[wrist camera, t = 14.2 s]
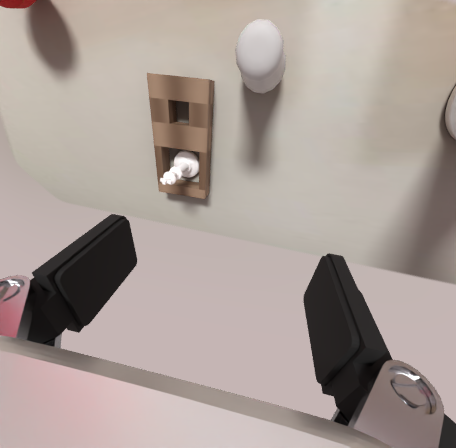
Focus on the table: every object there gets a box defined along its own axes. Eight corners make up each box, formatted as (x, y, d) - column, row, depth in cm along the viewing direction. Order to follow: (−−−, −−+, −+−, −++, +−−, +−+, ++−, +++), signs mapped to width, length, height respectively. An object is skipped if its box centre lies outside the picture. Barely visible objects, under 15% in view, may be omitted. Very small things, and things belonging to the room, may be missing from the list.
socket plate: (214, 81, 30) (209, 79, 27) (209, 192, 40) (205, 199, 37) (156, 75, 31) (146, 73, 28) (165, 185, 40) (158, 191, 38)
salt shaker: (291, 76, 28) (305, 62, 17) (255, 102, 30) (246, 104, 19) (272, 29, 26) (274, -21, 15) (235, 61, 28) (212, 38, 17)
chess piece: (175, 146, 36) (147, 161, 28) (202, 154, 36) (181, 171, 28) (174, 173, 39) (147, 193, 30) (198, 179, 39) (178, 202, 30)
